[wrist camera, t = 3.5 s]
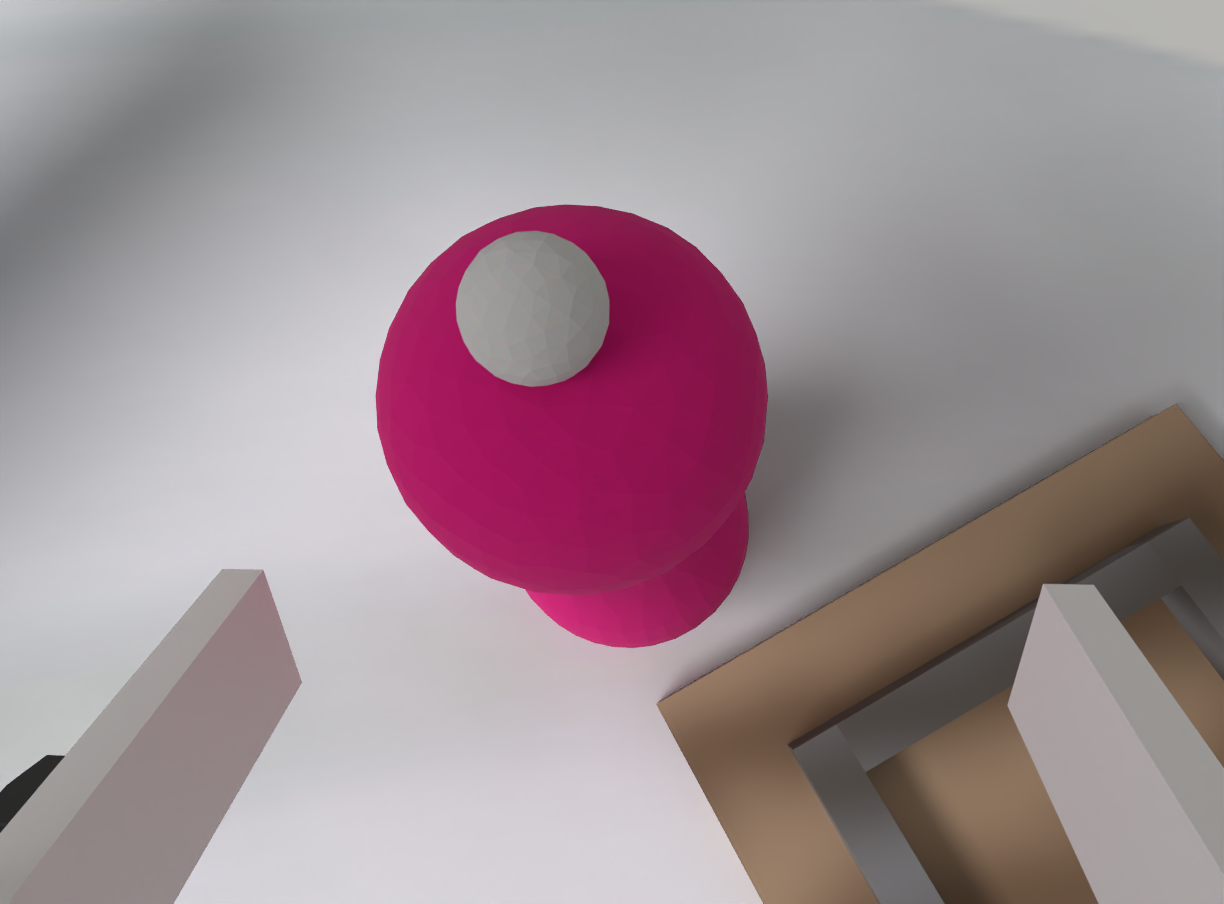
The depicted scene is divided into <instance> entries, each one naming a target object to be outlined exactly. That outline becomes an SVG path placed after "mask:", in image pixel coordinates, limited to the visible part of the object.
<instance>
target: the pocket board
mask: <svg viewBox="0 0 1224 904" xmlns="http://www.w3.org/2000/svg"><path fill="white" fill-rule="evenodd" d="M1043 584H1077V585H1094V586H1095V587H1096V589H1097V590H1098V591H1099V593H1100V594H1101V596H1102V597H1103V599H1104V600H1105V601H1106V603H1107V604H1108V606H1109V607H1110V608H1111V610H1112V611H1113V613H1114V614H1115V615H1116V617H1117V618H1118V620H1119V621H1120V623H1121V624H1122V625H1123V627H1124V628H1125V630H1126V631H1127V632H1128V634H1129V635H1130V637H1131V638H1132V639H1133V641H1134V642H1135V644H1136V645H1137V646H1138V648H1139V649H1140V651H1141V652H1142V654H1143V655H1144V656H1145V658H1146V659H1147V661H1148V662H1149V663H1150V665H1151V666H1152V668H1153V669H1154V670H1155V672H1156V673H1157V675H1158V676H1159V678H1160V679H1161V680H1162V682H1163V683H1164V685H1165V686H1166V687H1167V689H1168V690H1169V692H1170V693H1171V694H1172V696H1173V697H1174V699H1175V700H1176V701H1177V703H1178V704H1179V706H1180V707H1181V709H1182V710H1183V711H1184V713H1185V714H1186V716H1187V717H1188V718H1189V720H1190V721H1191V723H1192V724H1193V725H1194V727H1195V728H1196V730H1197V731H1198V732H1199V734H1200V735H1201V737H1202V738H1203V740H1204V741H1205V742H1206V744H1207V745H1208V747H1209V748H1210V749H1211V751H1212V752H1213V754H1214V755H1215V756H1216V758H1217V759H1218V761H1219V762H1220V764H1221V765H1222V766H1223V768H1224V460H1223V459H1222V458H1221V457H1220V456H1219V454H1218V453H1217V452H1216V451H1215V450H1214V448H1213V447H1212V446H1211V445H1210V444H1209V442H1208V441H1207V440H1206V439H1205V438H1204V436H1203V435H1202V434H1201V433H1200V432H1199V430H1198V429H1197V428H1196V427H1195V426H1194V424H1193V423H1192V422H1191V421H1190V420H1189V418H1188V417H1187V416H1186V415H1185V414H1184V412H1183V411H1182V410H1181V409H1180V408H1179V406H1178V405H1177V404H1175V405H1173V406H1172V407H1170V408H1168V409H1166V410H1164V411H1162V412H1160V413H1158V414H1156V415H1154V416H1153V417H1151V418H1149V419H1147V420H1146V421H1144V422H1142V423H1140V424H1139V425H1137V426H1135V427H1134V428H1132V429H1130V430H1128V431H1127V432H1125V433H1123V434H1121V435H1120V436H1118V437H1116V438H1114V439H1113V440H1111V441H1109V442H1108V443H1106V444H1104V445H1102V446H1101V447H1099V448H1097V449H1095V450H1094V451H1092V452H1090V453H1089V454H1087V455H1085V456H1083V457H1082V458H1080V459H1078V460H1076V461H1075V462H1073V463H1071V464H1069V465H1068V466H1066V467H1064V468H1063V469H1061V470H1059V471H1057V472H1056V473H1054V474H1052V475H1050V476H1049V477H1047V478H1045V479H1043V480H1042V481H1040V482H1038V483H1037V484H1035V485H1033V486H1031V487H1030V488H1028V489H1026V490H1024V491H1023V492H1021V493H1019V494H1018V495H1016V496H1014V497H1012V498H1011V499H1009V500H1007V501H1005V502H1004V503H1002V504H1000V505H998V506H997V507H995V508H993V509H992V510H990V511H988V512H986V513H985V514H983V515H981V516H979V517H978V518H976V519H974V520H973V521H971V522H969V523H967V524H966V525H964V526H962V527H960V528H959V529H957V530H955V531H953V532H952V533H950V534H948V535H947V536H945V537H943V538H941V539H940V540H938V541H936V542H934V543H933V544H931V545H929V546H928V547H926V548H924V549H922V550H921V551H919V552H917V553H915V554H914V555H912V556H910V557H908V558H907V559H905V560H903V561H902V562H900V563H898V564H896V565H895V566H893V567H891V568H889V569H888V570H886V571H884V572H883V573H881V574H879V575H877V576H876V577H874V578H872V579H870V580H869V581H867V582H865V583H863V584H862V585H860V586H858V587H857V588H855V589H853V590H851V591H850V592H848V593H846V594H844V595H843V596H841V597H839V598H838V599H836V600H834V601H832V602H831V603H829V604H827V605H825V606H824V607H822V608H820V609H818V610H817V611H815V612H813V613H812V614H810V615H808V616H806V617H805V618H803V619H801V620H799V621H798V622H796V623H794V624H793V625H791V626H789V627H787V628H786V629H784V630H782V631H780V632H779V633H777V634H775V635H773V636H772V637H770V638H768V639H767V640H765V641H763V642H761V643H760V644H758V645H756V646H754V647H753V648H751V649H749V650H748V651H746V652H744V653H742V654H741V655H739V656H737V657H735V658H734V659H732V660H730V661H728V662H727V663H725V664H723V665H722V666H720V667H718V668H716V669H715V670H713V671H711V672H709V673H708V674H706V675H704V676H703V677H701V678H699V679H697V680H696V681H694V682H692V683H690V684H689V685H687V686H685V687H683V688H682V689H680V690H678V691H677V692H675V693H673V694H671V695H670V696H668V697H666V698H664V699H663V700H661V701H659V702H658V703H657V706H658V708H659V710H660V712H661V714H662V716H663V717H664V719H665V721H666V723H667V725H668V727H669V729H670V730H671V732H672V734H673V736H674V738H675V740H676V742H677V744H678V745H679V747H680V749H681V751H682V753H683V755H684V757H685V758H686V760H687V762H688V764H689V766H690V768H691V770H692V771H693V773H694V775H695V777H696V779H697V781H698V783H699V784H700V786H701V788H702V790H703V792H704V794H705V796H706V798H707V799H708V801H709V803H710V805H711V807H712V809H713V811H714V812H715V814H716V816H717V818H718V820H719V822H720V824H721V825H722V827H723V829H724V831H725V833H726V835H727V837H728V838H729V840H730V842H731V844H732V846H733V848H734V850H735V852H736V853H737V855H738V857H739V859H740V861H741V863H742V865H743V866H744V868H745V870H746V872H747V874H748V876H749V878H750V879H751V881H752V883H753V885H754V887H755V889H756V891H757V892H758V894H759V896H760V898H761V900H762V902H763V904H1098V901H1097V899H1096V897H1095V895H1094V893H1093V891H1092V888H1091V886H1090V884H1089V882H1088V880H1087V878H1086V875H1085V873H1084V871H1083V869H1082V867H1081V865H1080V862H1079V860H1078V858H1077V856H1076V854H1075V851H1074V849H1073V847H1072V845H1071V843H1070V841H1069V838H1068V836H1067V834H1066V832H1065V830H1064V828H1063V825H1062V823H1061V821H1060V819H1059V817H1058V815H1057V812H1056V810H1055V808H1054V806H1053V804H1052V802H1051V799H1050V797H1049V795H1048V793H1047V791H1046V788H1045V786H1044V784H1043V782H1042V780H1041V778H1040V775H1039V773H1038V771H1037V769H1036V767H1035V765H1034V762H1033V760H1032V758H1031V756H1030V754H1029V752H1028V749H1027V747H1026V745H1025V743H1024V741H1023V739H1022V736H1021V734H1020V732H1019V730H1018V728H1017V725H1016V723H1015V721H1014V719H1013V717H1012V715H1011V712H1010V710H1009V708H1008V706H1007V705H1008V702H1009V698H1010V695H1011V691H1012V688H1013V685H1014V681H1015V678H1016V674H1017V671H1018V668H1019V664H1020V661H1021V657H1022V654H1023V650H1024V647H1025V644H1026V640H1027V637H1028V633H1029V630H1030V627H1031V623H1032V620H1033V616H1034V613H1035V610H1036V606H1037V603H1038V599H1039V596H1040V593H1041V589H1042V586H1043Z"/></svg>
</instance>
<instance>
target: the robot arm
mask: <svg viewBox="0 0 1224 904" xmlns="http://www.w3.org/2000/svg"><path fill="white" fill-rule="evenodd" d="M301 683H302V681H301V678H300V675H299V672H298V670H297V667H296V664H295V661H294V658H293V655H292V652H291V649H290V646H289V643H288V640H287V638H286V635H285V632H284V629H283V626H282V623H281V620H280V617H279V614H278V611H277V609H276V606H275V603H274V600H273V597H272V594H271V591H270V588H269V585H268V582H267V579H266V577H265V574H264V571H263V570H241V569H222V570H221V571H220V573H219V574H218V575H217V576H216V577H215V578H214V580H213V581H212V582H211V583H210V584H209V586H208V587H207V588H206V589H205V590H204V592H203V593H202V594H201V595H200V596H199V598H198V599H197V600H196V601H195V602H194V603H193V605H192V606H191V607H190V608H189V609H188V611H187V612H186V613H185V614H184V615H183V617H182V618H181V619H180V620H179V621H178V622H177V624H176V625H175V626H174V627H173V628H172V630H171V631H170V632H169V633H168V634H167V636H166V637H165V638H164V639H163V640H162V641H161V643H160V644H159V645H158V646H157V647H156V649H155V650H154V651H153V652H152V653H151V655H150V656H149V657H148V658H147V659H146V661H145V662H144V663H143V664H142V665H141V666H140V668H139V669H138V670H137V671H136V672H135V674H134V675H133V676H132V677H131V678H130V680H129V681H128V682H127V683H126V684H125V685H124V687H123V688H122V689H121V690H120V691H119V693H118V694H117V695H116V696H115V697H114V699H113V700H112V701H111V702H110V703H109V704H108V706H107V707H106V708H105V709H104V710H103V712H102V713H101V714H100V715H99V716H98V718H97V719H96V720H95V721H94V722H93V723H92V725H91V726H90V727H89V728H88V729H87V731H86V732H85V733H84V734H83V735H82V737H81V738H80V739H79V740H78V741H77V743H76V744H75V745H74V746H73V747H72V748H71V750H70V751H69V752H68V753H67V754H66V756H56V755H46V756H45V757H44V758H42V759H41V760H40V761H38V762H37V763H36V764H34V765H33V766H32V767H30V768H29V769H28V770H26V771H25V772H24V773H22V774H21V775H20V776H18V777H17V778H16V779H14V780H13V781H12V782H10V783H9V784H8V785H6V787H5V788H4V789H3V790H2V791H1V792H0V904H173V903H174V902H175V900H176V898H177V897H178V895H179V893H180V891H181V890H182V888H183V886H184V885H185V883H186V881H187V879H188V878H189V876H190V874H191V872H192V871H193V869H194V867H195V866H196V864H197V862H198V860H199V859H200V857H201V855H202V853H203V852H204V850H205V848H206V847H207V845H208V843H209V841H210V840H211V838H212V836H213V834H214V833H215V831H216V829H217V828H218V826H219V824H220V822H221V821H222V819H223V817H224V816H225V814H226V812H227V810H228V809H229V807H230V805H231V803H232V802H233V800H234V798H235V797H236V795H237V793H238V791H239V790H240V788H241V786H242V784H243V783H244V781H245V779H246V778H247V776H248V774H249V772H250V771H251V769H252V767H253V766H254V764H255V762H256V760H257V759H258V757H259V755H260V753H261V752H262V750H263V748H264V747H265V745H266V743H267V741H268V740H269V738H270V736H271V734H272V733H273V731H274V729H275V728H276V726H277V724H278V722H279V721H280V719H281V717H282V716H283V714H284V712H285V710H286V709H287V707H288V705H289V703H290V702H291V700H292V698H293V697H294V695H295V693H296V691H297V690H298V688H299V686H300V684H301ZM1007 706H1008V708H1009V710H1010V712H1011V715H1012V717H1013V719H1014V721H1015V723H1016V725H1017V728H1018V730H1019V732H1020V734H1021V736H1022V739H1023V741H1024V743H1025V745H1026V747H1027V749H1028V752H1029V754H1030V756H1031V758H1032V760H1033V762H1034V765H1035V767H1036V769H1037V771H1038V773H1039V775H1040V778H1041V780H1042V782H1043V784H1044V786H1045V788H1046V791H1047V793H1048V795H1049V797H1050V799H1051V802H1052V804H1053V806H1054V808H1055V810H1056V812H1057V815H1058V817H1059V819H1060V821H1061V823H1062V825H1063V828H1064V830H1065V832H1066V834H1067V836H1068V838H1069V841H1070V843H1071V845H1072V847H1073V849H1074V851H1075V854H1076V856H1077V858H1078V860H1079V862H1080V865H1081V867H1082V869H1083V871H1084V873H1085V875H1086V878H1087V880H1088V882H1089V884H1090V886H1091V888H1092V891H1093V893H1094V895H1095V897H1096V899H1097V901H1098V904H1224V768H1223V766H1222V765H1221V764H1220V762H1219V761H1218V759H1217V758H1216V756H1215V755H1214V754H1213V752H1212V751H1211V749H1210V748H1209V747H1208V745H1207V744H1206V742H1205V741H1204V740H1203V738H1202V737H1201V735H1200V734H1199V732H1198V731H1197V730H1196V728H1195V727H1194V725H1193V724H1192V723H1191V721H1190V720H1189V718H1188V717H1187V716H1186V714H1185V713H1184V711H1183V710H1182V709H1181V707H1180V706H1179V704H1178V703H1177V701H1176V700H1175V699H1174V697H1173V696H1172V694H1171V693H1170V692H1169V690H1168V689H1167V687H1166V686H1165V685H1164V683H1163V682H1162V680H1161V679H1160V678H1159V676H1158V675H1157V673H1156V672H1155V670H1154V669H1153V668H1152V666H1151V665H1150V663H1149V662H1148V661H1147V659H1146V658H1145V656H1144V655H1143V654H1142V652H1141V651H1140V649H1139V648H1138V646H1137V645H1136V644H1135V642H1134V641H1133V639H1132V638H1131V637H1130V635H1129V634H1128V632H1127V631H1126V630H1125V628H1124V627H1123V625H1122V624H1121V623H1120V621H1119V620H1118V618H1117V617H1116V615H1115V614H1114V613H1113V611H1112V610H1111V608H1110V607H1109V606H1108V604H1107V603H1106V601H1105V600H1104V599H1103V597H1102V596H1101V594H1100V593H1099V591H1098V590H1097V589H1096V587H1095V586H1094V585H1077V584H1043V586H1042V589H1041V593H1040V596H1039V599H1038V603H1037V606H1036V610H1035V613H1034V616H1033V620H1032V623H1031V627H1030V630H1029V633H1028V637H1027V640H1026V644H1025V647H1024V650H1023V654H1022V657H1021V661H1020V664H1019V668H1018V671H1017V674H1016V678H1015V681H1014V685H1013V688H1012V691H1011V695H1010V698H1009V702H1008V705H1007Z"/></svg>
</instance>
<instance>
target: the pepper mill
mask: <svg viewBox="0 0 1224 904" xmlns="http://www.w3.org/2000/svg"><path fill="white" fill-rule="evenodd" d="M767 401H768V393H767V382H766V371H765V363H764V360H763V356H762V353H761V349H760V346H759V342H758V338H757V335H756V332H755V330H754V328H753V325H752V323H751V321H750V318H749V316H748V314H747V311H746V309H745V307H744V304H743V302H742V301H741V299H740V298H739V297H738V295H737V294H736V293H735V291H734V290H733V288H732V287H731V286H730V284H729V283H728V281H727V280H726V279H725V277H724V276H723V274H722V273H721V272H720V271H719V270H718V269H717V268H716V267H715V266H714V265H713V264H712V263H711V262H710V261H709V260H708V259H707V258H706V257H705V256H704V255H703V254H702V253H701V252H700V251H699V250H698V249H697V248H696V247H695V246H694V245H692V244H691V243H689V242H688V241H686V240H685V239H683V238H682V237H680V236H679V235H677V234H676V233H675V232H673V231H672V230H670V229H669V228H667V227H664V226H662V225H659V224H657V223H654V222H652V221H650V220H647V219H645V218H642V217H640V216H637V215H635V214H632V213H627V212H623V211H618V210H613V209H608V208H603V207H598V206H582V205H555V206H545V207H535V208H531V209H528V210H525V211H521V212H518V213H515V214H512V215H508V216H505V217H502V218H499V219H497V220H495V221H492V222H490V223H488V224H486V225H484V226H482V227H480V228H478V229H476V230H474V231H472V232H470V233H468V234H466V235H464V236H462V237H461V238H460V239H459V240H457V241H456V242H455V243H454V244H453V245H452V246H450V247H449V248H448V249H447V250H446V251H444V252H443V253H442V254H441V255H440V256H439V257H437V258H436V259H435V260H434V261H433V262H431V263H430V265H429V266H428V267H427V268H426V270H425V271H424V272H423V273H422V275H421V276H420V277H419V278H418V279H417V281H416V282H415V283H414V284H413V286H412V287H411V288H410V289H409V291H408V293H407V295H406V296H405V298H404V300H403V302H402V304H401V306H400V308H399V310H398V312H397V314H396V316H395V318H394V320H393V322H392V324H391V326H390V328H389V331H388V334H387V338H386V341H385V344H384V348H383V351H382V354H381V358H380V364H379V372H378V381H377V389H376V409H377V428H378V433H379V436H380V440H381V444H382V448H383V451H384V455H385V459H386V462H387V465H388V467H389V470H390V472H391V474H392V476H393V478H394V480H395V483H396V485H397V487H398V489H399V491H400V493H401V495H402V497H403V499H404V501H405V503H406V504H407V506H408V507H409V508H410V509H411V510H412V512H413V513H414V514H415V515H416V517H417V518H418V519H419V520H420V521H421V523H422V524H423V525H424V526H425V528H426V529H427V530H428V531H429V532H430V533H431V534H432V535H433V536H434V537H435V538H436V539H437V540H438V541H439V542H440V543H441V544H442V545H443V546H444V547H446V548H447V549H448V550H449V551H450V552H451V553H452V554H453V555H454V556H456V557H457V558H459V559H460V560H462V561H463V562H465V563H466V564H468V565H470V566H471V567H473V568H474V569H476V570H477V571H479V572H481V573H483V574H484V575H486V576H488V577H490V578H492V579H495V580H498V581H501V582H504V583H507V584H511V585H514V586H517V587H520V588H523V589H526V591H527V593H528V594H529V596H530V597H531V599H532V600H533V601H534V602H535V603H536V604H537V605H538V606H539V607H540V608H541V609H542V610H543V611H544V612H545V613H546V614H547V615H548V616H549V617H550V618H551V619H553V620H554V621H555V622H556V623H557V624H558V625H560V626H561V627H563V628H565V629H566V630H568V631H570V632H571V633H573V634H574V635H576V636H579V637H581V638H584V639H586V640H589V641H591V642H594V643H598V644H603V645H607V646H611V647H626V648H636V647H644V646H652V645H656V644H659V643H663V642H666V641H669V640H673V639H676V638H677V637H679V636H681V635H683V634H685V633H687V632H688V631H690V630H692V629H694V628H696V627H697V626H698V625H700V624H701V623H702V622H703V621H704V620H706V619H707V618H708V617H709V616H710V615H712V614H713V613H714V612H715V611H716V610H717V609H718V607H719V606H720V605H721V603H722V602H723V601H724V600H725V598H726V597H727V596H728V595H729V593H730V592H731V590H732V588H733V586H734V584H735V582H736V581H737V579H738V577H739V574H740V571H741V568H742V566H743V563H744V560H745V556H746V550H747V544H748V510H747V503H746V496H745V493H744V492H745V490H746V488H747V486H748V485H749V483H750V481H751V479H752V476H753V473H754V470H755V467H756V464H757V461H758V458H759V455H760V452H761V449H762V446H763V443H764V434H765V423H766V412H767Z"/></svg>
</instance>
